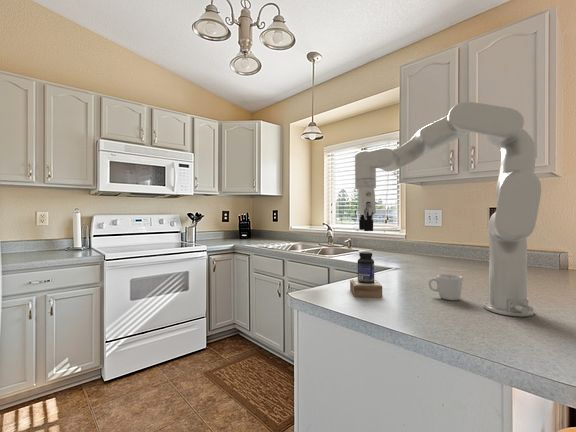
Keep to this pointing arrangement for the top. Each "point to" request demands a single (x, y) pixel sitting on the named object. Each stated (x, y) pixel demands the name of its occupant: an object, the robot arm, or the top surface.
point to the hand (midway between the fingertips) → (365, 230)
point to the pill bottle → (365, 268)
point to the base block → (365, 289)
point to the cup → (448, 286)
